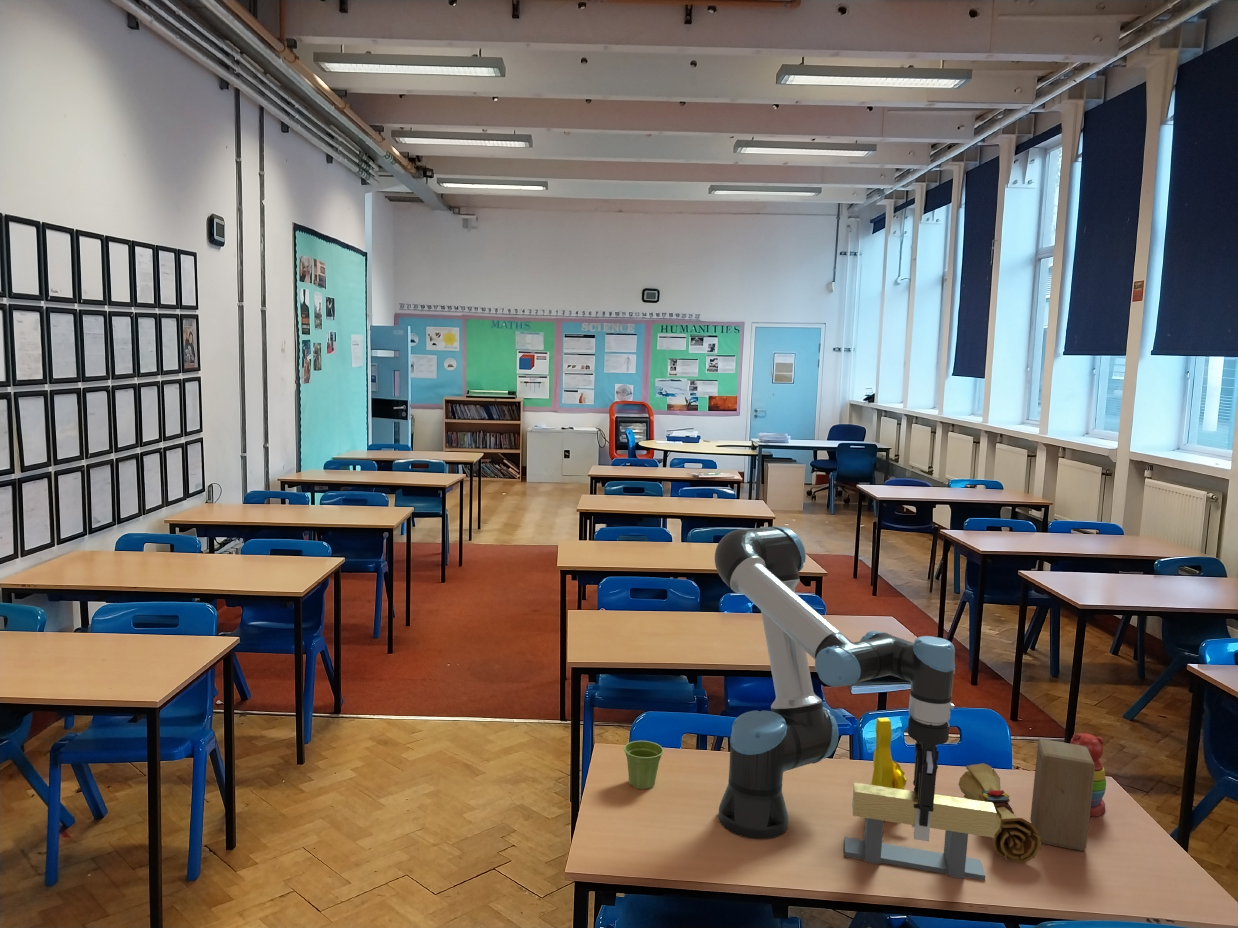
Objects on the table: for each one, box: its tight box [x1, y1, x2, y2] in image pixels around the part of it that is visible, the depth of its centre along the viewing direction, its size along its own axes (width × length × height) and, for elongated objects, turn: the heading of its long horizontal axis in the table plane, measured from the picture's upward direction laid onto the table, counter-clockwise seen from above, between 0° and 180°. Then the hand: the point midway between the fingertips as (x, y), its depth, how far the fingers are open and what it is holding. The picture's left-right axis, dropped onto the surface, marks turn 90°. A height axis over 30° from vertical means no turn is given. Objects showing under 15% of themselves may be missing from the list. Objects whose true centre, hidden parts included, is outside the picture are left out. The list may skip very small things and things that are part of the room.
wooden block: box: [1029, 738, 1095, 852], centre depth 185 cm, size 10×10×20 cm
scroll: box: [958, 762, 1042, 864], centre depth 187 cm, size 27×10×10 cm, turn 173°
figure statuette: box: [870, 717, 908, 790], centre depth 193 cm, size 18×8×22 cm, turn 2°
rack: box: [843, 784, 986, 881], centre depth 174 cm, size 27×7×13 cm, turn 76°
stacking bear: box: [1069, 732, 1107, 818], centre depth 200 cm, size 11×10×18 cm
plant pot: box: [623, 740, 665, 790], centre depth 202 cm, size 9×9×9 cm
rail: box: [851, 782, 996, 839], centre depth 166 cm, size 26×4×5 cm, turn 76°
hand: (920, 832), depth 167 cm, fingers closed on rail, 4 cm apart
